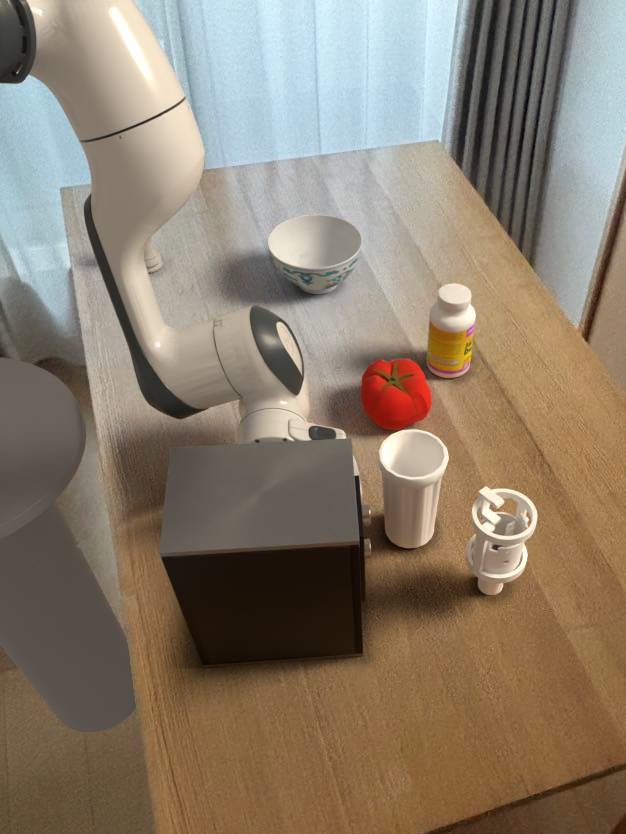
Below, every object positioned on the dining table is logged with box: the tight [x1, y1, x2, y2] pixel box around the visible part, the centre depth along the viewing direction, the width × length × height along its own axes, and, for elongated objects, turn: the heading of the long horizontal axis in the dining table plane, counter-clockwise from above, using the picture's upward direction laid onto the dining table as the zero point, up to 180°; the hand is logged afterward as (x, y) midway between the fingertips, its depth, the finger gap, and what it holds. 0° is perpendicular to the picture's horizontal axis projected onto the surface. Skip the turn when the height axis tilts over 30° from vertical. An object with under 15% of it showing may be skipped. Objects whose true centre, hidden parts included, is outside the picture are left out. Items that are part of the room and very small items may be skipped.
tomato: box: [359, 357, 433, 430], centre depth 111 cm, size 10×11×6 cm
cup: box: [377, 428, 450, 549], centre depth 95 cm, size 8×8×14 cm
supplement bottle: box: [426, 282, 477, 379], centre depth 115 cm, size 7×7×13 cm
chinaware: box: [266, 213, 363, 295], centre depth 128 cm, size 15×15×8 cm
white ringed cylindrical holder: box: [464, 485, 538, 596], centre depth 90 cm, size 7×7×15 cm
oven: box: [158, 437, 372, 669], centre depth 84 cm, size 20×13×22 cm, turn 96°
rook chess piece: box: [144, 238, 164, 274], centre depth 130 cm, size 4×4×8 cm
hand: (274, 545), depth 86 cm, fingers closed on beverage can, 6 cm apart
